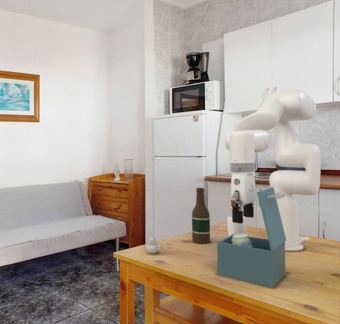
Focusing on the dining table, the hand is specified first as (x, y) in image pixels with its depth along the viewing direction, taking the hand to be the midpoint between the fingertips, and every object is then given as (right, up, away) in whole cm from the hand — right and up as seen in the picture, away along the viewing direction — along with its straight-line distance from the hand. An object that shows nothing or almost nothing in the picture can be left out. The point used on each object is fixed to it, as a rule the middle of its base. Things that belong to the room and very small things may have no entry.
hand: (243, 219), depth 112 cm
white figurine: (-25, -18, +24) cm, 39 cm away
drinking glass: (+6, -17, +19) cm, 26 cm away
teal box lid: (+6, +2, -6) cm, 9 cm away
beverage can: (0, -17, +1) cm, 17 cm away
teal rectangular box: (+2, -18, -1) cm, 18 cm away
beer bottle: (-1, -16, +39) cm, 42 cm away
